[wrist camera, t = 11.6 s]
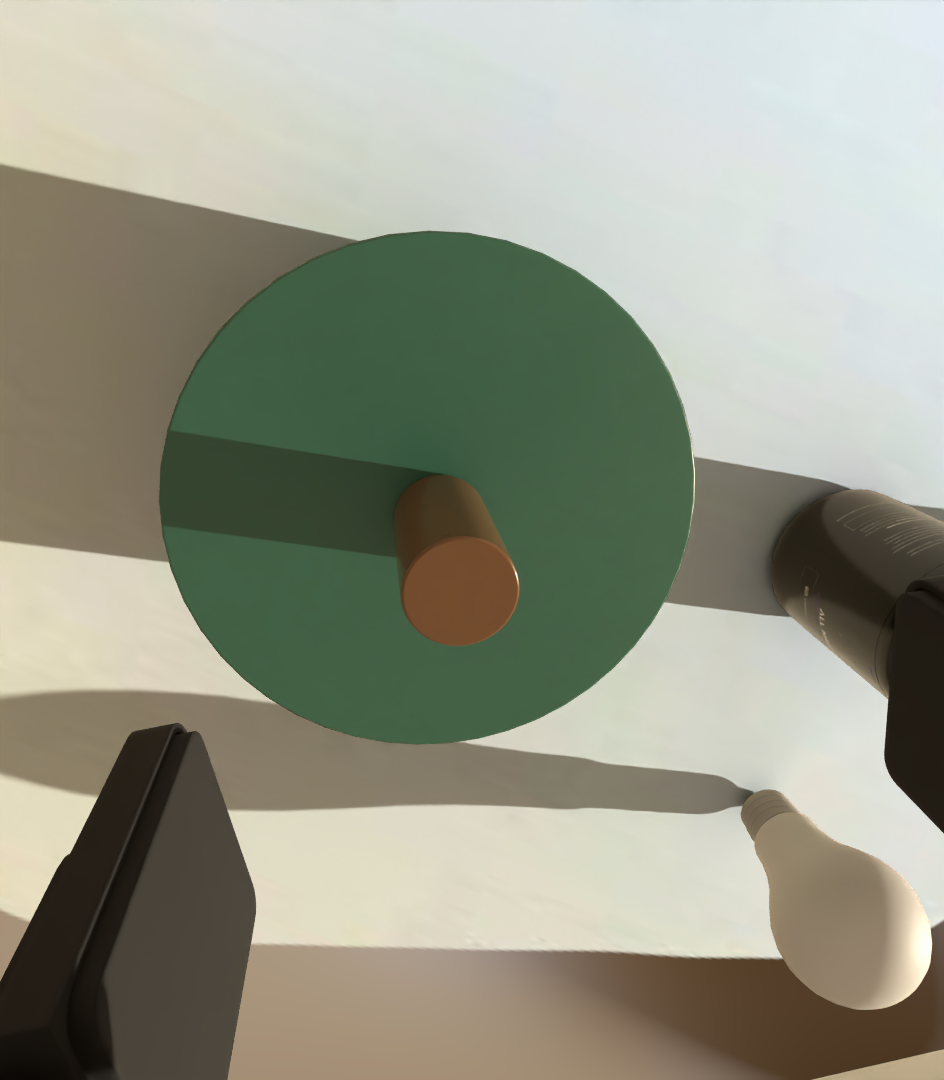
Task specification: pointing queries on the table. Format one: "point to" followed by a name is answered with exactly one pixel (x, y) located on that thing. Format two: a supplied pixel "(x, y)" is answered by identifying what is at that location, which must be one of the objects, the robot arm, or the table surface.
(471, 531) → the tin lid
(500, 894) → the table surface
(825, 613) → the supplement bottle
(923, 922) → the lightbulb
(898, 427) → the table surface
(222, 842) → the robot arm
